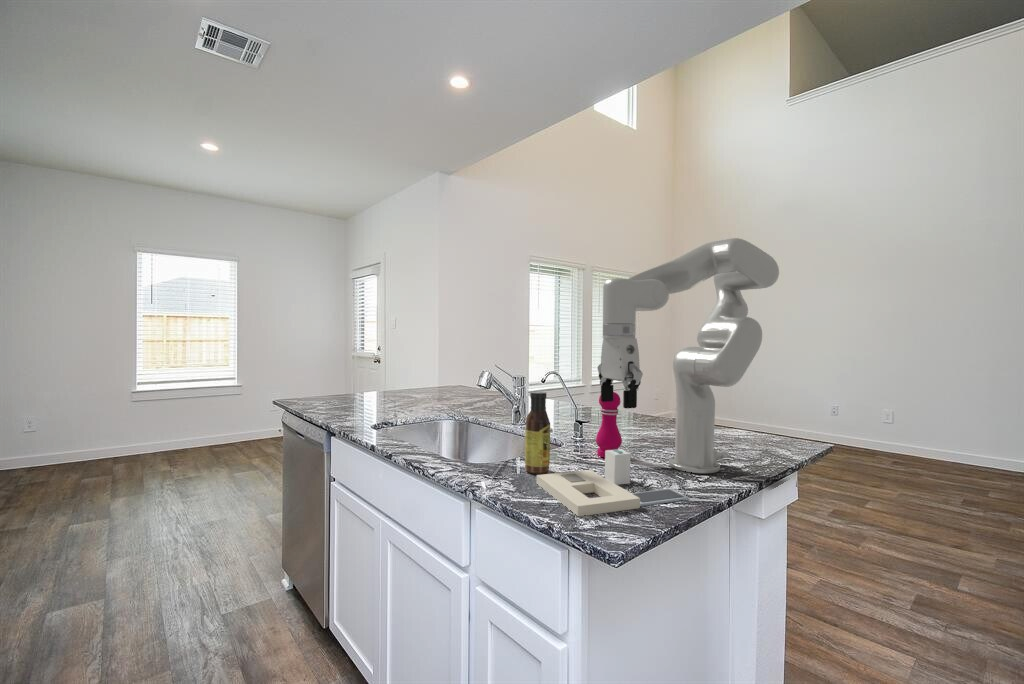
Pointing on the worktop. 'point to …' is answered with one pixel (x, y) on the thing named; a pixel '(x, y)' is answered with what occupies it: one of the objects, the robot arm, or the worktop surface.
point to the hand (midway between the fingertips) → (618, 404)
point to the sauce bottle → (537, 436)
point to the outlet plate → (578, 482)
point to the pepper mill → (608, 426)
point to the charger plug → (617, 466)
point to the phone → (659, 496)
